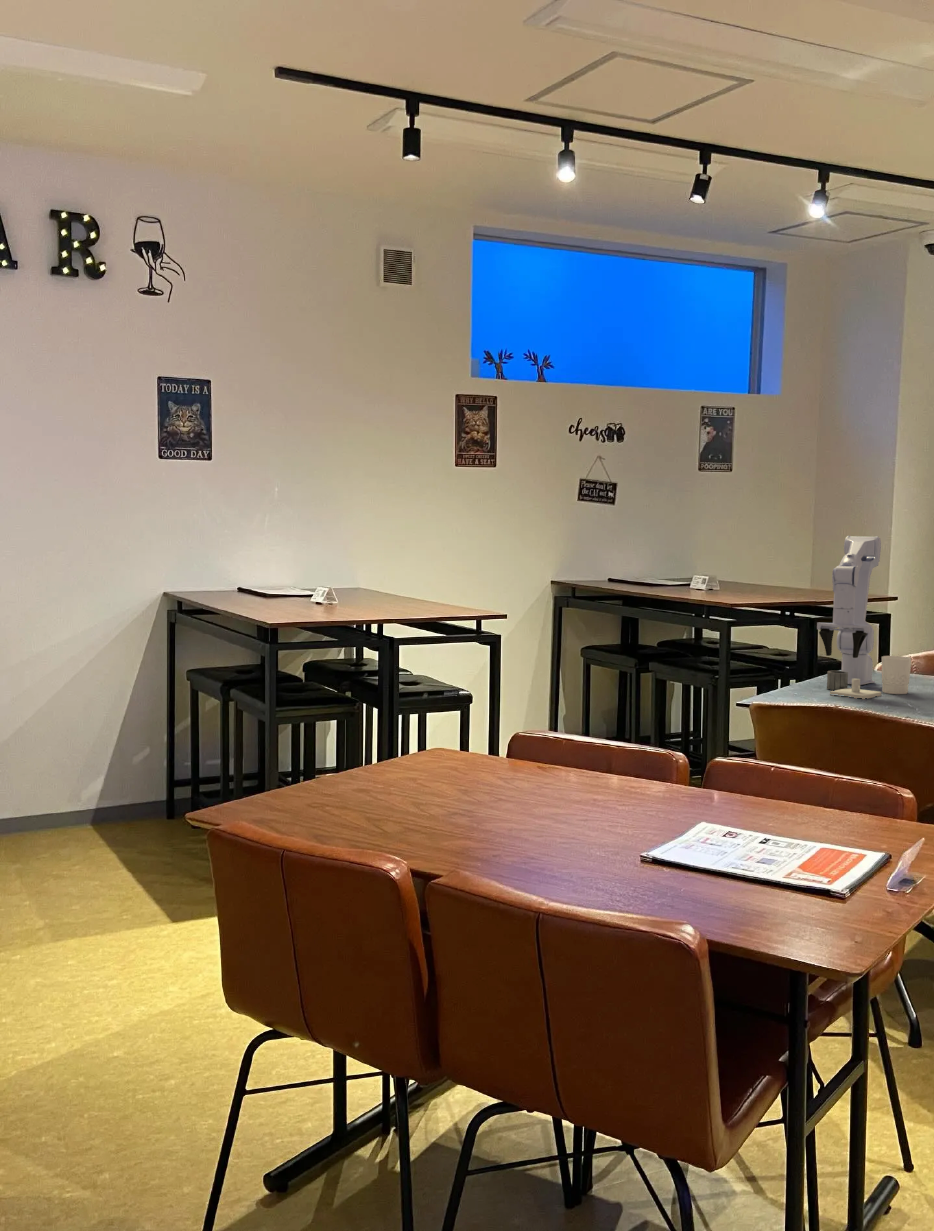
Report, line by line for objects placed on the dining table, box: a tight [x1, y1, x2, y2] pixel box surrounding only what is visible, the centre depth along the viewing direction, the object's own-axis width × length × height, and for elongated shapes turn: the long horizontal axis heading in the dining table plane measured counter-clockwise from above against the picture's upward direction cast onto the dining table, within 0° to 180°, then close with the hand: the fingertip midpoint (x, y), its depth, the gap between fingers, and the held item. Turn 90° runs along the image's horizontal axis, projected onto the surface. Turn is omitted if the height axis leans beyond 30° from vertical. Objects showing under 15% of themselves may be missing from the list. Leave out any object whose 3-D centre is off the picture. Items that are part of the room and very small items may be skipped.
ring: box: [826, 670, 849, 691], centre depth 343 cm, size 6×6×5 cm
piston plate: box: [829, 679, 882, 700], centre depth 332 cm, size 10×10×4 cm
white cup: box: [881, 655, 912, 695], centre depth 337 cm, size 8×8×10 cm
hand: (841, 656), depth 338 cm, fingers open, 7 cm apart
